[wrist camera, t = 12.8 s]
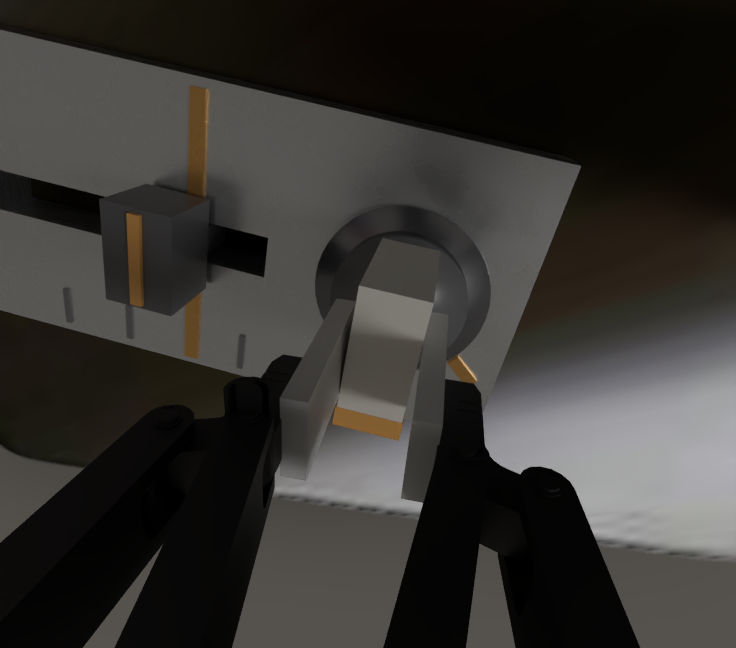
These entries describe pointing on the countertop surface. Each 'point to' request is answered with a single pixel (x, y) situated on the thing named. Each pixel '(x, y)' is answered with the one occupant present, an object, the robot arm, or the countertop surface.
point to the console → (254, 203)
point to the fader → (156, 247)
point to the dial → (392, 323)
